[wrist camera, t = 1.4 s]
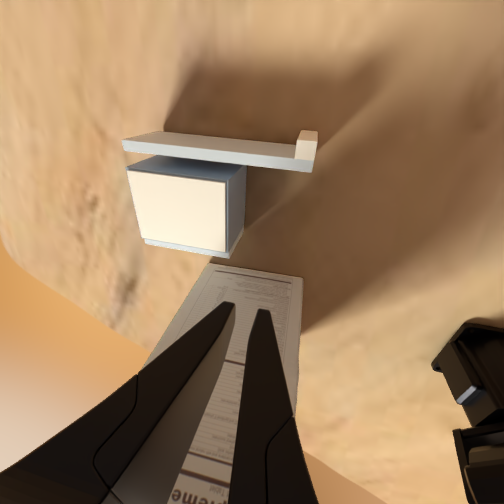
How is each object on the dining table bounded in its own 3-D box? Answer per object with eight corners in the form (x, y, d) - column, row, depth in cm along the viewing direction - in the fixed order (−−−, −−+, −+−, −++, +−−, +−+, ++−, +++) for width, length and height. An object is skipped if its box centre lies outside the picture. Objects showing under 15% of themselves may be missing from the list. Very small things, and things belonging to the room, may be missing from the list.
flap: (317, 131, 15) (317, 141, 12) (312, 156, 16) (311, 172, 13) (156, 116, 17) (117, 122, 14) (159, 140, 18) (123, 150, 14)
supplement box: (211, 324, 28) (111, 542, 15) (205, 260, 23) (44, 500, 10) (293, 342, 27) (268, 604, 13) (307, 276, 22) (289, 594, 8)
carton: (246, 162, 17) (227, 181, 14) (244, 231, 21) (227, 262, 17) (163, 152, 18) (123, 167, 15) (172, 219, 22) (142, 246, 18)
